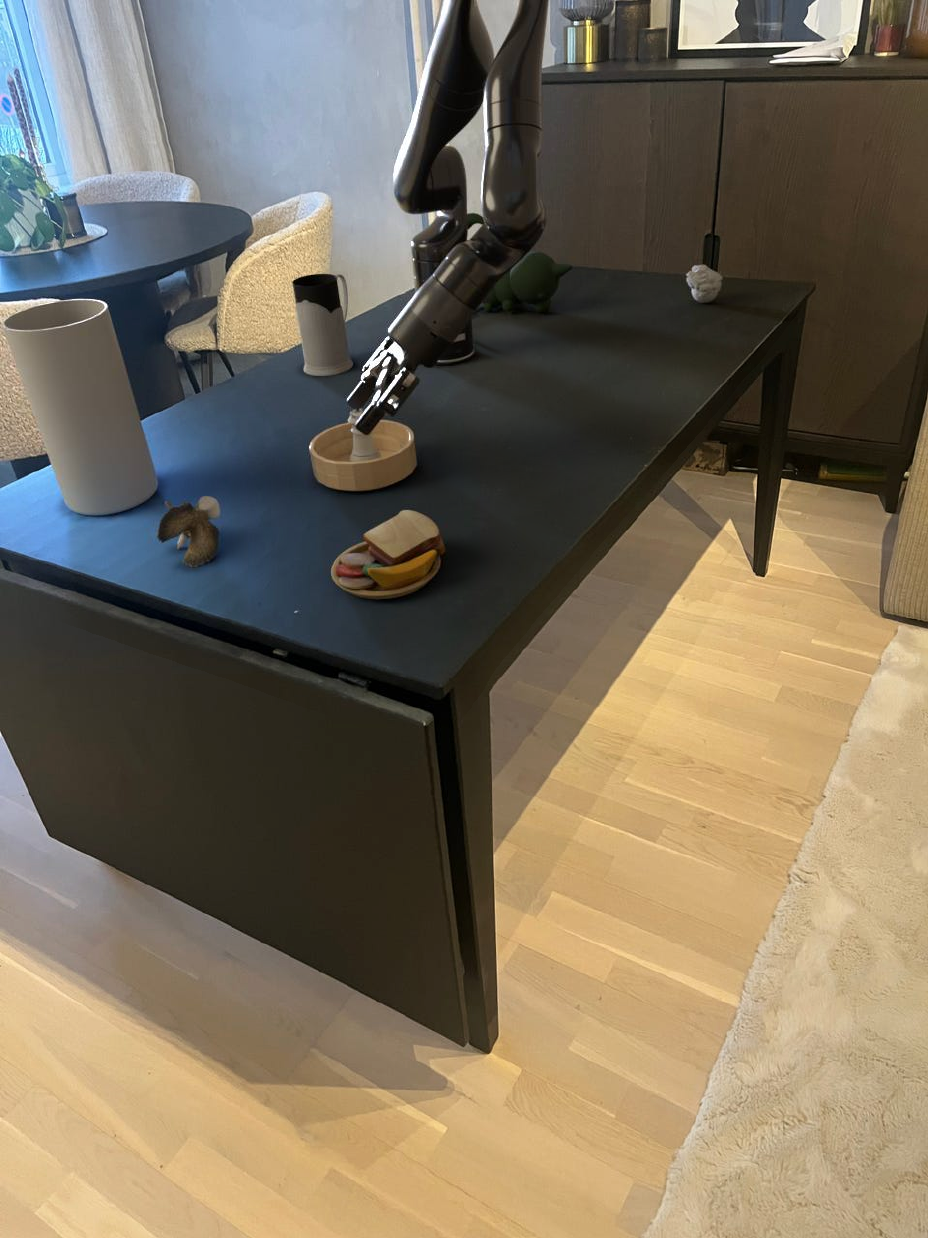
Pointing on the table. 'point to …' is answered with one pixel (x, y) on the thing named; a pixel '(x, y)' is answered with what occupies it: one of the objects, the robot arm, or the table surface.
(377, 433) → the bowl
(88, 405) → the cylinder vase
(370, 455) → the rook chess piece
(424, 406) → the table surface
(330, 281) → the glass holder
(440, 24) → the robot arm
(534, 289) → the toy figurine
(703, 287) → the white lumpy rounded piece
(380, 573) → the toy sandwich meal
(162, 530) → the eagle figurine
